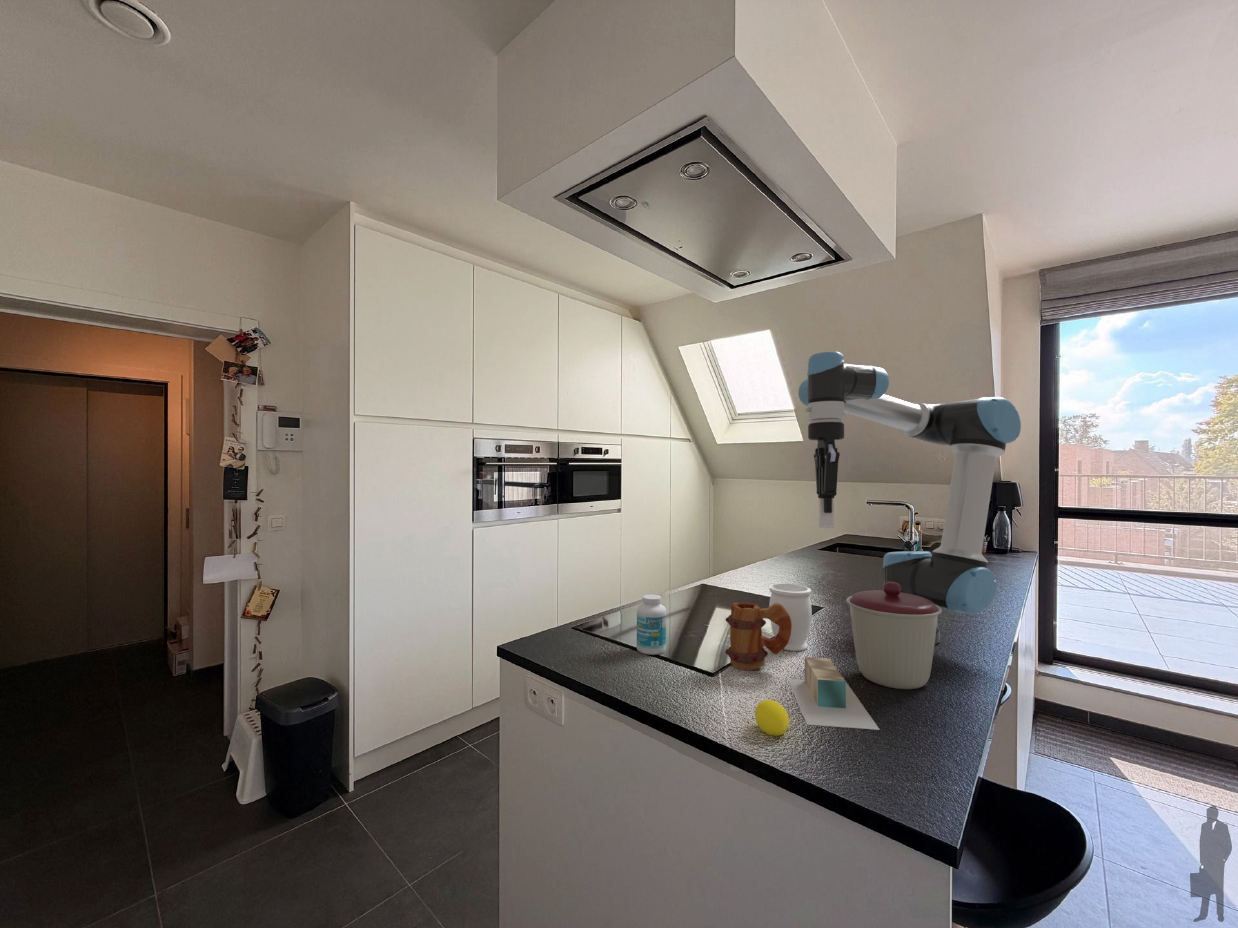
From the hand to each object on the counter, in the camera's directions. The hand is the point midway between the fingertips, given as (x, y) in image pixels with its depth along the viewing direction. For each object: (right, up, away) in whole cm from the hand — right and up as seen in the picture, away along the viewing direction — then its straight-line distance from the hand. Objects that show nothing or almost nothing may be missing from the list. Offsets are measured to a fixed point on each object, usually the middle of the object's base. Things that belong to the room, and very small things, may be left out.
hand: (826, 527), depth 115 cm
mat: (-6, -32, -16) cm, 36 cm away
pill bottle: (-38, -33, +13) cm, 52 cm away
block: (-6, -29, -18) cm, 35 cm away
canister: (+13, -33, -4) cm, 35 cm away
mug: (-15, -33, +2) cm, 36 cm away
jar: (-2, -33, +17) cm, 37 cm away
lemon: (-20, -32, -27) cm, 47 cm away
